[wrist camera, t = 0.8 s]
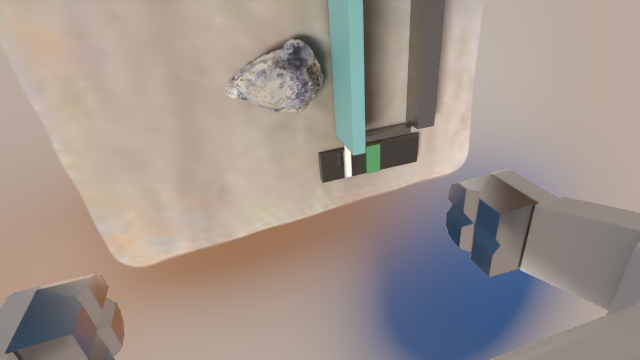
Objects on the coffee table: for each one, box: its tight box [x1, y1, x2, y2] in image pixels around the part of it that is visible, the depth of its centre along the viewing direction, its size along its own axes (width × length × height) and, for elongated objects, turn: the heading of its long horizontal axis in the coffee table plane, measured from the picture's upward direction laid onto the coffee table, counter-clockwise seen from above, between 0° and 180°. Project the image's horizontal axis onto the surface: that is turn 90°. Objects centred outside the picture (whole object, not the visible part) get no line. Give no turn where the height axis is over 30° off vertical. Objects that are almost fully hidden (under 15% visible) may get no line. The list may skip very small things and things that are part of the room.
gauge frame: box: [318, 0, 444, 183], centre depth 44 cm, size 25×15×3 cm, turn 5°
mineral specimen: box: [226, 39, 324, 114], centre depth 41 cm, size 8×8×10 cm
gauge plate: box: [328, 0, 366, 177], centre depth 42 cm, size 23×2×6 cm, turn 5°
